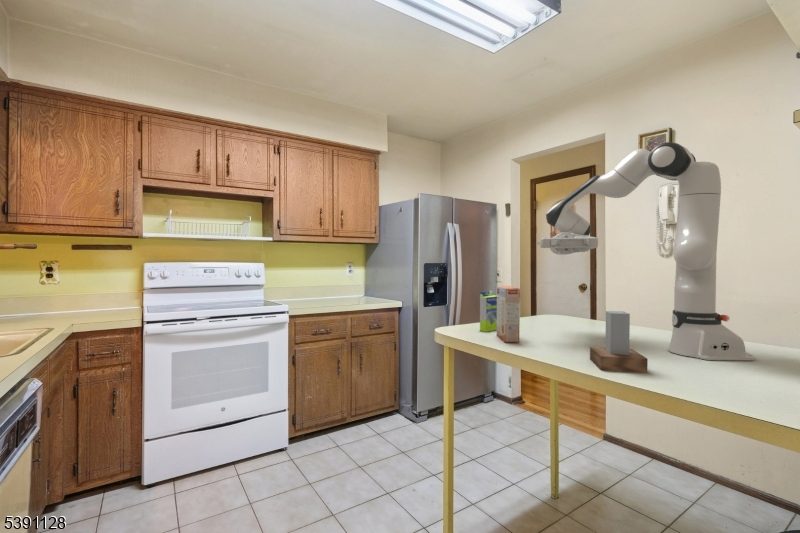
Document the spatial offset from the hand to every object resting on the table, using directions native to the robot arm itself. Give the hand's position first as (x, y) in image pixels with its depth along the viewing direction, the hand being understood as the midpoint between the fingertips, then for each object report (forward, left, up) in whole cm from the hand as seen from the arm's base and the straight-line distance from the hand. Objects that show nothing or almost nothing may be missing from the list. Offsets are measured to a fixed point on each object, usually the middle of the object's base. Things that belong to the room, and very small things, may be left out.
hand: (572, 242), depth 139 cm
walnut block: (-8, +24, -38) cm, 46 cm away
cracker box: (+22, -8, -38) cm, 45 cm away
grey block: (-8, +24, -34) cm, 42 cm away
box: (+29, -26, -38) cm, 55 cm away
